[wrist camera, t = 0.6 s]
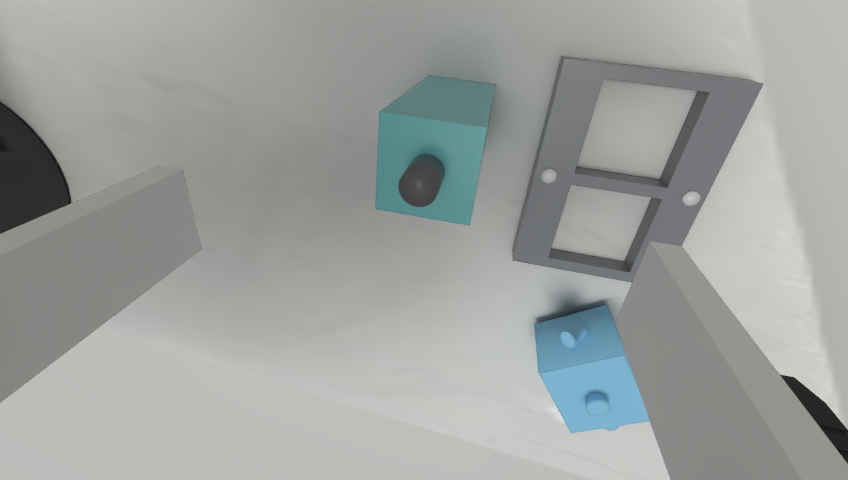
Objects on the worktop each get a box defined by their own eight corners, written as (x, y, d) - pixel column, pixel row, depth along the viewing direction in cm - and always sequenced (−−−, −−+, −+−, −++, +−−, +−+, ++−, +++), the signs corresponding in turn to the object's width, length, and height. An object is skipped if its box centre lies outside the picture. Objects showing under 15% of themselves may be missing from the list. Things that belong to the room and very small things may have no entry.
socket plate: (512, 250, 32) (512, 261, 31) (561, 56, 25) (565, 58, 23) (654, 276, 31) (661, 289, 29) (749, 80, 24) (765, 84, 22)
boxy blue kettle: (518, 287, 34) (521, 351, 27) (591, 265, 31) (613, 329, 25) (567, 383, 38) (579, 458, 32) (634, 369, 36) (662, 447, 29)
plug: (422, 140, 29) (362, 228, 17) (429, 75, 27) (364, 122, 15) (483, 150, 28) (465, 247, 17) (495, 84, 26) (484, 141, 14)
